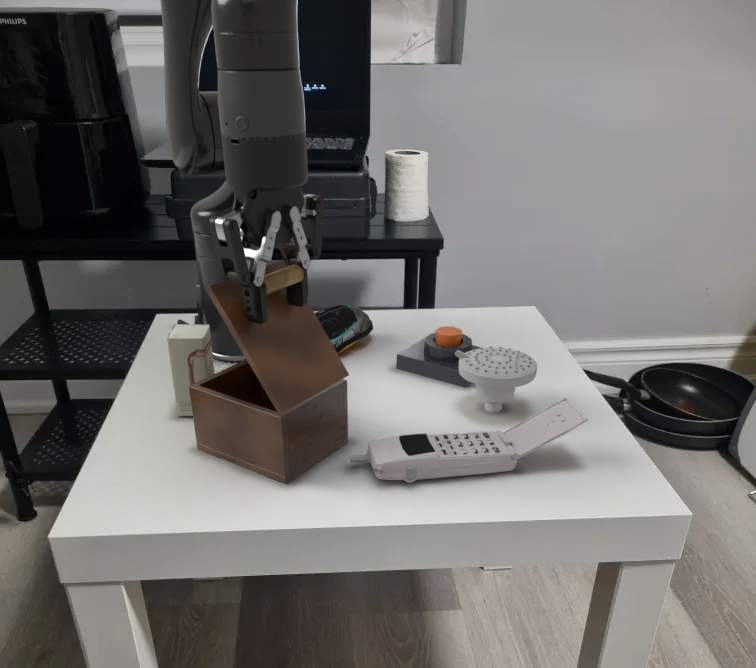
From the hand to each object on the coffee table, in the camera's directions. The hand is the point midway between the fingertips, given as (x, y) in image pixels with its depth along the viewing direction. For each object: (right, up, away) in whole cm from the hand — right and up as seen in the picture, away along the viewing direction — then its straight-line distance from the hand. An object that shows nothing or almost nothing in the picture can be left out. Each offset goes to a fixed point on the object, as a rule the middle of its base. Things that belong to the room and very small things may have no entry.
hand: (277, 312), depth 75 cm
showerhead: (+24, -7, +18) cm, 31 cm away
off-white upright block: (-12, -8, +18) cm, 23 cm away
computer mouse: (+3, +3, +35) cm, 35 cm away
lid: (0, -2, +1) cm, 3 cm away
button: (+20, +3, +27) cm, 34 cm away
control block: (+20, 0, +29) cm, 35 cm away
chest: (-2, -13, +10) cm, 16 cm away
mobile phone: (+20, -15, +7) cm, 26 cm away
